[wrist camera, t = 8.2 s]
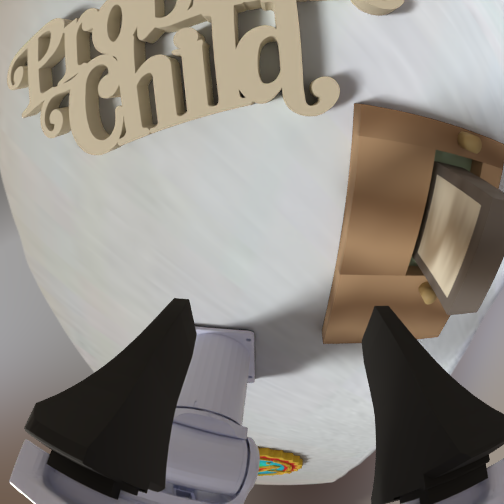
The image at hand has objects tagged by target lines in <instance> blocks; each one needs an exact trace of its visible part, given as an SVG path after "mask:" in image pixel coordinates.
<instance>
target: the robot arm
mask: <svg viewBox="0 0 504 504" xmlns="http://www.w3.org/2000/svg"><path fill="white" fill-rule="evenodd" d="M248 338H249V339H248ZM362 349H363V358H364V365H365V369H366V374H367V378H368V383H369V387H370V392H371V397H372V402H373V407H374V414H375V426H376V463H375V465H376V466H375V477H374V485H373V492H372V497H371V502H372V504H386V503H390V502H394V501H398V500H400V504H504V458H503V459H502V460H500V461H498V462H497V463H495V464H493V465H491V466H490V467H488V468H486V463H488V462H489V460H490V459H489V454H490V453H491V452H493V451H495V450H496V449H497V448H499V447H500V446H502V445H503V444H504V414H502V413H501V412H499V411H497V410H495V409H493V408H491V407H490V406H488V405H487V404H485V403H484V402H482V401H481V400H480V399H478V398H477V397H475V396H474V395H473V394H471V393H470V392H469V391H468V390H466V389H465V388H464V387H462V386H461V385H460V384H459V383H458V382H457V381H456V380H454V379H453V378H452V377H451V376H450V375H449V374H448V373H447V372H446V371H445V370H444V369H443V368H442V367H441V366H440V365H439V364H438V363H437V362H436V361H435V360H434V359H433V358H432V357H431V355H430V354H429V353H428V352H427V351H426V350H425V349H424V348H423V346H422V345H421V344H420V343H419V342H418V341H417V339H416V338H415V337H414V336H413V335H412V333H411V332H410V331H409V330H408V329H407V327H406V326H405V325H404V324H403V323H402V321H401V320H400V319H399V318H398V316H397V315H396V314H395V313H394V312H393V311H392V309H391V308H390V307H389V306H374V309H373V312H372V314H371V317H370V320H369V322H368V325H367V328H366V330H365V333H364V335H363V338H362ZM254 381H255V361H254V333H253V332H252V331H246V330H231V329H218V328H207V327H196V326H195V324H194V320H193V316H192V311H191V306H190V302H189V299H178V298H174V299H173V300H172V301H171V302H170V303H169V304H168V305H167V306H166V308H165V309H164V310H163V311H162V312H161V313H160V314H159V315H158V316H157V317H156V318H155V319H154V320H153V321H152V322H151V324H150V325H149V326H148V327H147V328H146V329H145V330H144V331H143V332H142V333H141V334H140V335H139V336H138V337H137V338H136V339H135V340H134V341H132V342H131V343H130V344H129V345H128V346H127V347H126V348H125V349H124V350H123V351H122V352H121V353H119V354H118V355H117V356H116V357H115V358H113V359H112V360H111V361H110V362H108V363H107V364H106V365H105V366H103V367H102V368H101V369H99V370H98V371H96V372H95V373H93V374H92V375H90V376H89V377H87V378H86V379H84V380H83V381H81V382H79V383H78V384H76V385H74V386H72V387H71V388H69V389H67V390H65V391H63V392H61V393H59V394H57V395H55V396H52V397H50V398H48V399H45V400H43V401H41V402H38V403H36V404H35V406H34V408H33V411H32V412H31V415H30V417H29V419H28V421H27V424H26V426H25V428H24V429H25V431H26V432H27V433H29V434H30V435H31V436H32V437H34V438H35V439H37V440H38V441H39V442H41V443H43V444H44V445H45V446H47V447H48V448H50V449H51V450H52V451H51V453H50V454H48V453H47V452H45V451H44V450H42V449H41V448H39V447H38V446H36V445H34V444H33V443H31V442H30V441H29V440H27V439H25V441H24V443H23V446H22V448H21V450H20V453H19V456H18V458H17V461H16V463H15V466H14V469H13V472H12V475H11V478H10V481H9V482H10V483H11V484H12V485H13V486H14V487H15V488H16V489H17V490H19V491H20V492H21V493H22V494H23V495H25V496H26V497H27V498H28V499H29V500H31V501H32V502H33V503H34V504H244V501H245V499H246V497H247V495H248V493H249V491H250V490H251V489H252V487H253V486H254V484H255V481H256V479H257V475H258V471H259V463H260V455H259V450H258V447H257V445H256V444H255V442H254V440H253V439H252V438H250V437H247V431H248V428H247V427H243V426H242V422H243V414H244V406H245V398H246V390H247V383H254Z"/></svg>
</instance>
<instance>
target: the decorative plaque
mask: <svg viewBox="0 0 504 504" xmlns="http://www.w3.org/2000/svg"><path fill="white" fill-rule="evenodd" d="M258 450H259V455H260V463H259V471H258V475H257V476H264V475H282V474H284V473H289V474H290V473H292V471H298V469H301V468H302V463H303V459H300V456H295V455H293V453H285V452H283V451H282V450H271V449H269V448H258Z"/></svg>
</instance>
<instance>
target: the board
mask: <svg viewBox="0 0 504 504" xmlns="http://www.w3.org/2000/svg"><path fill="white" fill-rule="evenodd" d="M434 161H436V162H441V163H445V164H450V165H454V166H458V167H462V168H464V169H466V170H468V171H470V172H471V173H473V174H475V175H477V176H478V177H480V178H482V179H483V180H485V181H486V182H488V183H490V184H491V185H493V186H494V187H496V188H497V189H499V184H500V180H501V175H502V170H503V164H504V144H502V143H500V142H498V141H495V140H493V139H490V138H488V137H485V136H483V135H480V134H477V133H475V132H472V131H469V130H466V129H463V128H460V127H457V126H454V125H451V124H448V123H445V122H441V121H438V120H434V119H431V118H427V117H423V116H419V115H415V114H411V113H407V112H402V111H397V110H393V109H388V108H382V107H377V106H371V105H365V104H357V103H354V117H353V134H352V147H351V159H350V169H349V179H348V187H347V196H346V204H345V211H344V218H343V225H342V231H341V238H340V244H339V250H338V256H337V261H336V267H335V272H334V277H333V282H332V287H331V292H330V297H329V302H328V306H327V311H326V315H325V319H324V324H323V328H322V338H323V344H340V343H362V338H363V335H364V333H365V330H366V328H367V325H368V322H369V320H370V317H371V314H372V312H373V309H374V306H389V307H390V308H391V309H392V311H393V312H394V313H395V314H396V315H397V316H398V318H399V319H400V320H401V321H402V323H403V324H404V325H405V326H406V327H407V329H408V330H409V331H410V332H411V333H412V335H413V336H414V337H415V338H416V339H424V338H433V337H438V336H439V334H440V332H441V331H442V329H443V327H444V326H445V324H446V322H447V320H448V318H449V317H450V315H447V314H446V312H445V310H444V308H443V306H442V304H441V303H440V301H439V299H438V297H437V296H436V294H435V292H434V291H433V289H432V287H431V286H430V284H429V282H428V281H427V279H426V277H425V276H424V274H423V272H422V271H421V269H420V268H419V266H418V265H417V263H416V262H415V260H414V259H413V257H412V254H413V250H414V247H415V244H416V240H417V237H418V233H419V229H420V226H421V222H422V218H423V214H424V210H425V205H426V201H427V196H428V192H429V187H430V181H431V176H432V170H433V164H434Z"/></svg>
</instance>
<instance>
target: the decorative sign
mask: <svg viewBox="0 0 504 504" xmlns="http://www.w3.org/2000/svg"><path fill="white" fill-rule="evenodd" d="M300 1H303V2H305V1H307V0H177V2H176V5H175V7H174V9H173V10H172V12H171V13H170V14H168V15H167V16H165V8H164V0H107V1H106V2H105V3H104V4H103V5H102V7H101V8H100V10H99V9H95V8H90V9H88V10H86V11H85V12H84V13H83V14H82V15H81V16H80V18H76V19H74V20H68V19H61V18H56V19H53V20H51V21H50V22H48V23H47V24H46V25H45V26H44V27H42V28H41V29H40V30H39V31H38V32H37V33H36V34H35V35H34V36H33V37H32V38H31V39H30V40H29V41H28V42H27V43H26V44H25V45H24V46H23V47H22V48H21V49H20V50H19V51H18V53H17V54H16V55H15V57H14V58H13V60H12V62H11V64H10V67H9V70H8V75H7V84H8V87H9V88H10V89H11V90H16V89H21V88H26V87H28V86H29V97H30V103H29V105H28V107H27V108H26V109H25V111H24V112H23V113H22V117H23V118H25V117H29V116H33V115H36V114H38V113H39V112H40V111H41V117H40V120H41V127H42V130H43V132H44V134H45V135H46V136H47V137H48V138H54V137H57V136H60V135H63V134H66V133H68V132H70V131H72V134H73V136H74V139H75V141H76V142H77V144H78V145H79V147H80V148H81V149H82V150H83V151H85V152H86V153H88V154H91V155H102V154H105V153H107V152H109V151H112V150H114V149H116V148H119V147H121V146H122V145H124V144H126V143H129V142H131V141H134V140H136V139H139V138H141V137H144V136H147V135H149V134H152V133H155V132H158V131H160V130H163V129H166V128H169V127H172V126H175V125H178V124H181V123H184V122H187V121H191V120H194V119H197V118H201V117H204V116H208V115H211V114H215V113H219V112H223V111H227V110H231V109H235V108H239V107H244V106H248V105H253V104H254V102H255V103H259V104H263V103H267V102H269V101H271V100H272V99H273V98H274V97H275V96H276V95H277V94H278V93H279V92H280V90H281V89H282V95H283V99H284V101H285V103H286V105H287V106H288V108H289V109H291V110H292V111H293V112H295V113H297V114H300V115H303V116H317V115H320V114H323V113H325V112H326V111H328V110H329V109H330V108H331V107H332V106H333V105H334V104H335V103H336V101H337V100H338V98H339V95H340V88H339V85H338V83H337V82H336V81H335V80H334V79H333V78H331V77H320V78H318V79H316V80H314V81H312V82H311V83H310V86H309V90H310V93H311V95H313V96H314V97H317V101H316V102H315V103H314V104H312V105H308V104H307V103H306V100H305V94H304V87H303V68H302V52H301V40H300V29H299V20H298V11H297V3H296V2H300ZM309 1H325V0H309ZM351 2H352V3H353V4H354V5H355V6H356V7H357V8H358V9H360V10H361V11H363V12H365V13H368V14H371V15H378V16H380V15H386V14H389V13H391V12H392V11H394V10H395V9H397V8H398V7H400V6H401V5H402V4H403V3H404V0H351ZM259 8H262V9H263V10H265V11H267V10H272V11H274V14H275V23H276V28H274V27H272V26H267V25H263V26H258V27H255V28H253V29H251V30H250V31H248V32H247V33H246V34H245V35H244V36H243V37H242V38H241V40H240V41H239V37H238V13H240V12H245V11H246V10H255V9H259ZM121 18H122V26H121V30H120V21H121ZM205 21H208V22H210V23H212V38H213V50H214V62H215V71H216V80H217V88H218V97H219V101H218V104H217V105H215V104H214V96H213V87H212V77H211V67H210V57H209V48H210V46H209V44H207V43H206V42H205V38H204V36H203V35H201V34H200V33H199V32H197V31H196V30H195V29H193V28H190V27H191V26H194V25H196V24H199V23H202V22H205ZM176 31H178V32H177V33H176V34H175V36H174V39H173V41H174V44H175V46H176V47H177V48H179V49H177V50H173V51H172V54H173V55H176V56H179V57H181V58H182V66H183V76H184V86H185V95H186V104H187V112H186V113H185V105H184V96H183V87H182V78H181V69H180V64H179V62H178V61H177V60H176V59H175V58H172V57H168V56H165V55H155V56H152V57H150V58H149V59H147V60H146V57H145V42H148V43H151V44H153V43H155V42H156V41H157V40H158V39H159V38H160V37H161V36H162V35H163V34H164V33H165V32H176ZM91 32H92V40H93V44H94V46H95V48H96V49H97V50H98V51H99V52H100V53H103V55H100V56H97V57H95V58H94V59H92V60H91V57H90V33H91ZM269 42H276V43H277V44H278V49H279V60H280V73H279V75H278V77H277V78H276V79H275V80H274V81H273V82H271V83H268V84H265V83H263V82H262V80H261V77H260V54H261V50H262V48H263V47H264V46H265V45H266V44H267V43H269ZM64 56H65V62H66V73H65V75H64V77H63V78H62V79H61V80H60V81H59V83H58V86H54V87H53V80H52V68H53V67H54V66H55V65H57V64H58V63H59V62H60V61H61V60H62V58H63V57H64ZM27 61H28V66H25V64H26V62H27ZM107 68H108V74H107V75H106V76H104V77H103V78H102V79H101V81H100V78H101V75H102V73H103V72H104V71H105V70H106V69H107ZM152 79H153V85H154V94H155V103H156V111H157V119H158V124H156V125H154V124H153V121H152V113H151V106H150V98H149V89H148V85H149V83H150V81H151V80H152ZM68 93H70V94H69V107H64V108H59V106H60V103H61V101H62V99H63V98H64V97H65V96H66V95H67V94H68ZM243 95H244V96H245V97H246V98H244V97H243ZM99 96H100V97H102V98H115V97H121V102H122V106H118V107H116V109H115V127H114V130H113V132H112V134H111V135H109V134H108V133H107V132H106V131H105V130H104V128H103V125H102V122H101V118H100V112H99Z"/></svg>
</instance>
